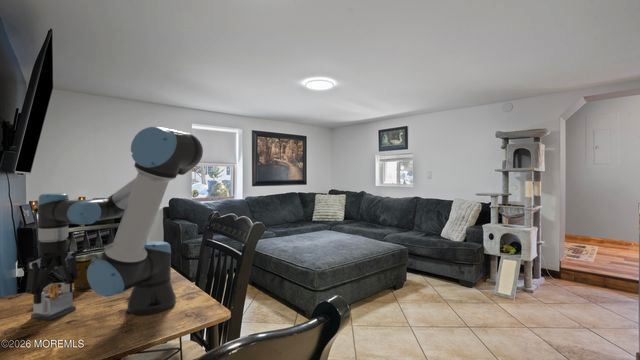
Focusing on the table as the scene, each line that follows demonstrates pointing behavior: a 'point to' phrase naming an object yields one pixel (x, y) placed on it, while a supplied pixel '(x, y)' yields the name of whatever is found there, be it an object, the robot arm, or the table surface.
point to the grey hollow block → (56, 303)
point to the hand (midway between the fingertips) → (53, 307)
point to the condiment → (82, 275)
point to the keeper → (52, 293)
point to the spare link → (46, 289)
